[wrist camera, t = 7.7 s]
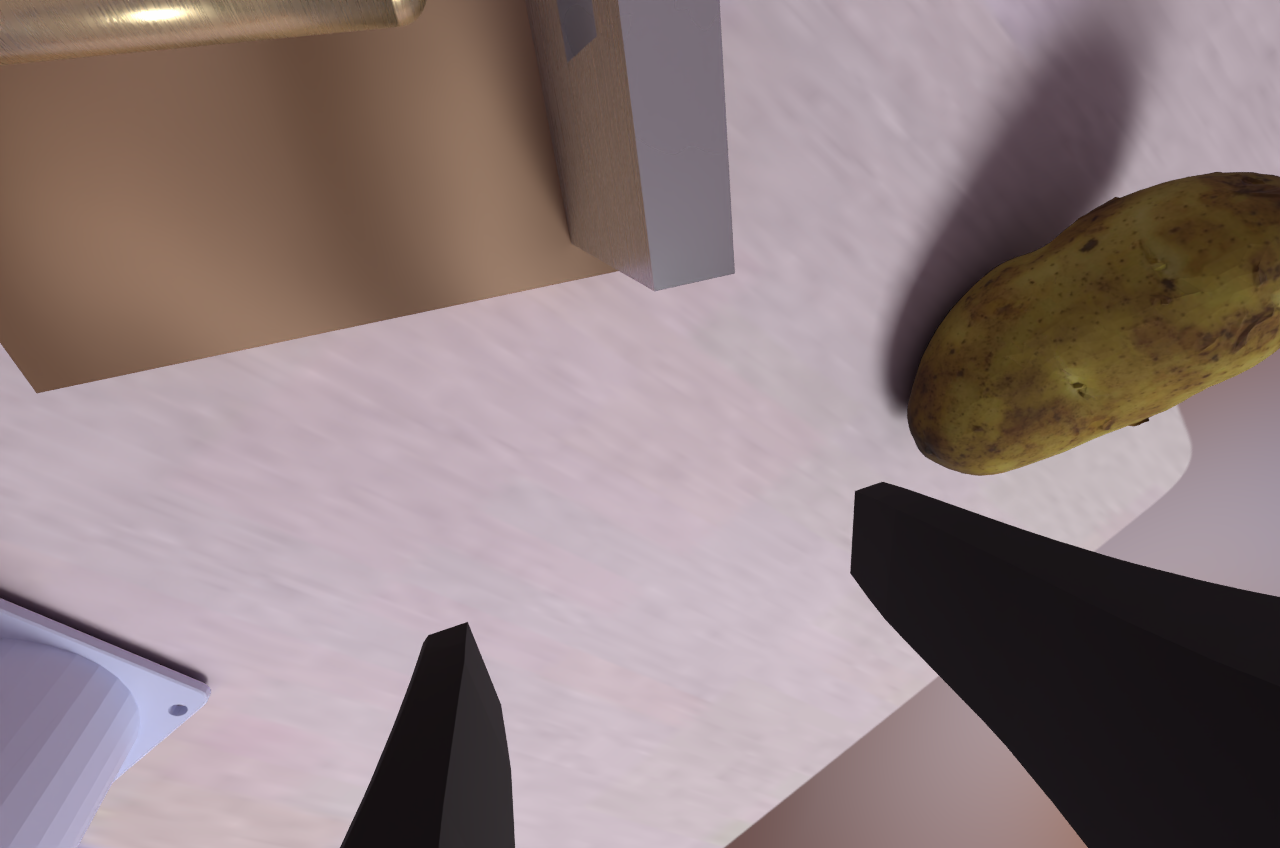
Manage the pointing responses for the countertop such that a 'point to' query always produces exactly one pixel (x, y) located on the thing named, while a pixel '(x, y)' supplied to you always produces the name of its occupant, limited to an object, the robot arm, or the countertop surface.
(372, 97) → the base board
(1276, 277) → the potato
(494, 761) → the robot arm
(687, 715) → the countertop surface
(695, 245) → the eye plate
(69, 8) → the copper disc on rod
